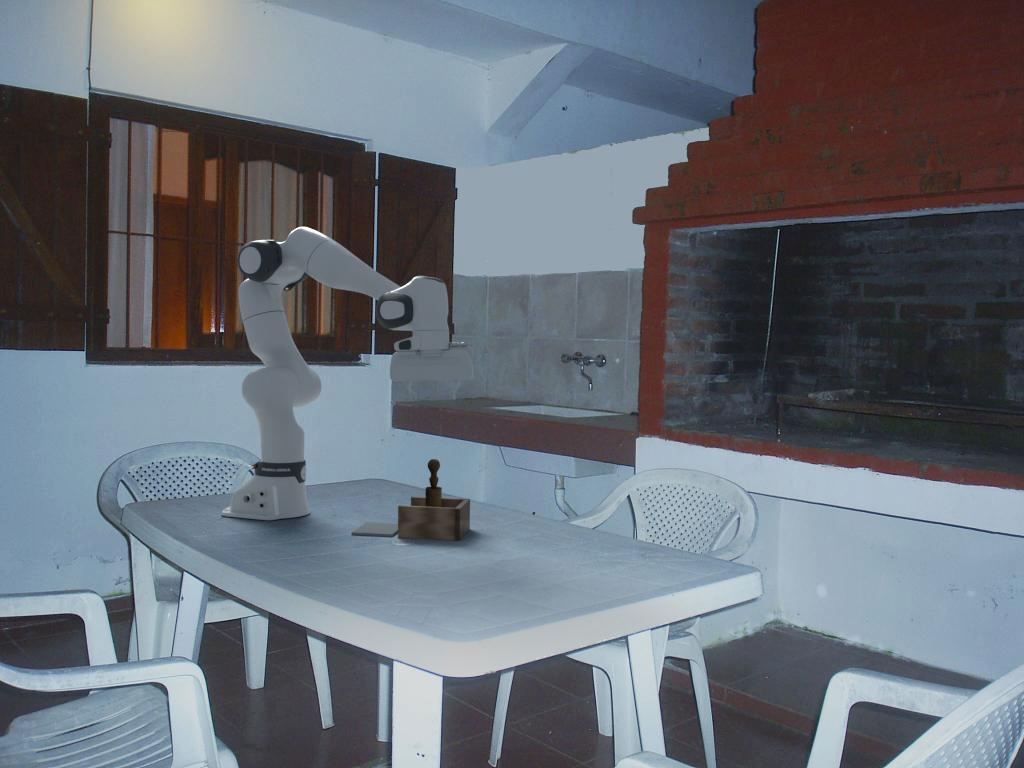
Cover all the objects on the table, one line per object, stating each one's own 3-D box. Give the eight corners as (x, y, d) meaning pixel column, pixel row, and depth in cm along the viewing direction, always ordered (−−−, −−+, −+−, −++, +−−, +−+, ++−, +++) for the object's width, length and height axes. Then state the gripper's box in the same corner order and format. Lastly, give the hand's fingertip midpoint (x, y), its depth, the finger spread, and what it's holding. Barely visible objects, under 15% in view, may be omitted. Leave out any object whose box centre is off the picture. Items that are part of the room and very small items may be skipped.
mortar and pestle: (448, 530, 217) (449, 458, 216) (444, 536, 211) (445, 461, 210) (422, 529, 218) (423, 457, 217) (416, 535, 211) (417, 460, 210)
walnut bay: (397, 537, 209) (398, 506, 208) (411, 526, 222) (411, 496, 221) (459, 540, 207) (459, 508, 206) (469, 528, 220) (470, 499, 219)
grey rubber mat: (351, 534, 211) (351, 532, 211) (366, 524, 223) (366, 522, 223) (392, 536, 209) (392, 534, 209) (405, 526, 221) (405, 523, 221)
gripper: (474, 341, 217) (476, 398, 217) (391, 343, 217) (393, 400, 218) (472, 341, 211) (474, 399, 211) (387, 343, 211) (389, 401, 212)
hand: (432, 399), depth 215 cm, fingers open, 8 cm apart
